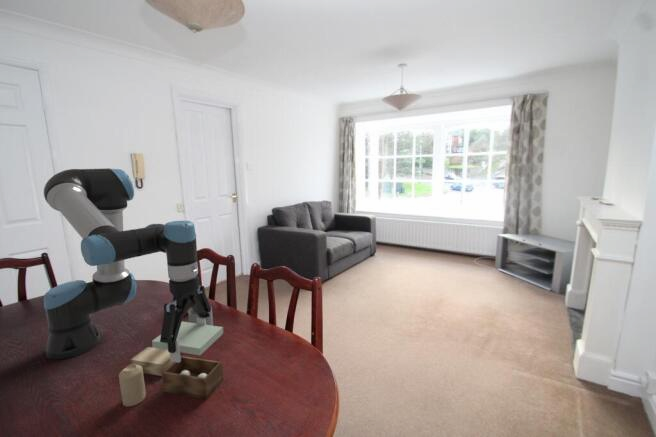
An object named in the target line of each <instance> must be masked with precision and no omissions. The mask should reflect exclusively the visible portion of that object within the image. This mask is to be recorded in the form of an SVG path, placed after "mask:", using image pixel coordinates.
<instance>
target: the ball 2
mask: <svg viewBox="0 0 656 437" xmlns="http://www.w3.org/2000/svg"><path fill="white" fill-rule="evenodd" d="M206 376H207V374H206V373H201V374H200V375H199V376H198V377H200V378H205V377H206Z"/></svg>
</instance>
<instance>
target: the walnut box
mask: <svg viewBox="0 0 656 437" xmlns="http://www.w3.org/2000/svg"><path fill="white" fill-rule="evenodd" d="M184 370H188V371H189V372H190V373H191V376H188V375H182V374H180V373H181V372H182V371H184ZM201 373H206V374H207V376H206V377H205V378H200V377H198V376H199V375H200V374H201ZM223 373H224V372H223V362H222V361H219V360H218V361H217V360H211V359H207V358H205V359H204V358H198V357H193V356H191V357H190V356H186V355H181V361H180V362H179V363H178V362H174V363H173V364H172V365H170V366H169V367H168V368H167V369H166V370H165V371H164V372H162V376H161V377H162V384H163V391H164V393H169V394H170V393H171V394H174V395H175V394H176V395H182V396H187V397H192V398H197V399H203V400H208V399H209V397H211V395H213V393H214V392H215V390H216V389H217V388H218V387H219V385H220V384H221V383H222V382H223V380H224V375H223Z"/></svg>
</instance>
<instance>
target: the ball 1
mask: <svg viewBox="0 0 656 437" xmlns="http://www.w3.org/2000/svg"><path fill="white" fill-rule="evenodd" d="M180 374H182V375H188V376H191V373H190V372H189V371H188V370H184V371H182V372H181V373H180Z"/></svg>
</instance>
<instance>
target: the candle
mask: <svg viewBox="0 0 656 437" xmlns="http://www.w3.org/2000/svg"><path fill="white" fill-rule="evenodd" d="M144 377H145V376H144V373H143V368H142V366H139V365H136V364H134V363H133V364H131V363H130V364H129V365H128V366H126V367H125V368H123V369H122V370H121V371H119V374H118V380H119V381H118V382H119V388H120V393H121V394H120V396H121V401H122V405H123V406H124V407H128V408H129V407H133V406H136V405H138V404H140V403H142V402H143V401H144V400H145V399H146V396H147V395H146V394H147V393H146V392H147V391H146V384H145V378H144Z"/></svg>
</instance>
